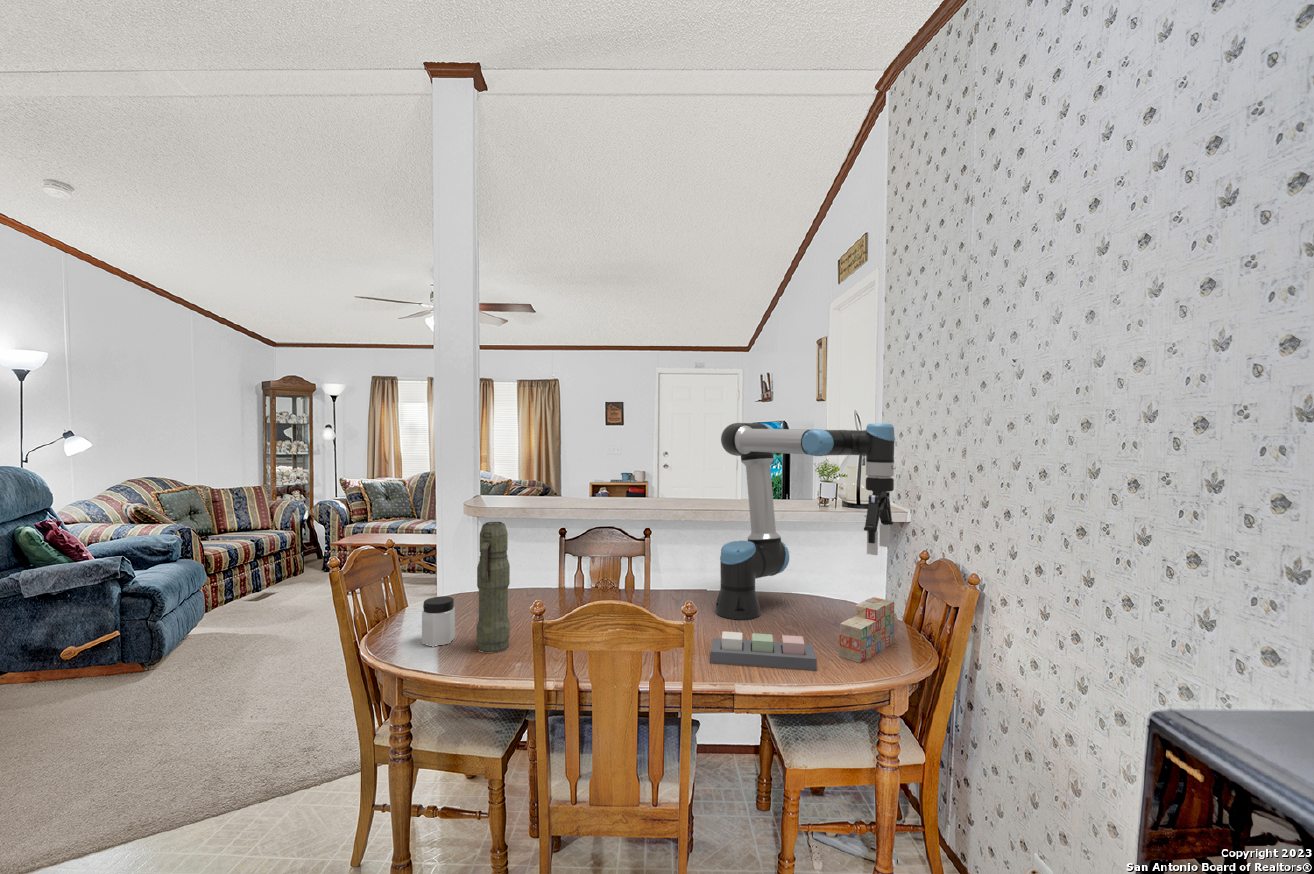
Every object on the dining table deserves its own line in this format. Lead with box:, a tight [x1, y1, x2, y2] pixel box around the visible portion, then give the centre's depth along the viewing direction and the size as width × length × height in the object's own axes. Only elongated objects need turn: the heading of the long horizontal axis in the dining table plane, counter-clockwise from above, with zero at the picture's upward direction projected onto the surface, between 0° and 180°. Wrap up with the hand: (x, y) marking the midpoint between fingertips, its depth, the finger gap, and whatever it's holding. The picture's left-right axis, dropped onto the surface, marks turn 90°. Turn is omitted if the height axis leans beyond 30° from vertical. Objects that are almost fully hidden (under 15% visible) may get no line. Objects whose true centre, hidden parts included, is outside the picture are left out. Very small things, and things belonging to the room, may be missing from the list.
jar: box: [421, 595, 456, 646], centre depth 159 cm, size 9×8×12 cm
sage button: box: [751, 632, 774, 653], centre depth 148 cm, size 5×5×4 cm
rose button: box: [781, 634, 805, 655], centre depth 147 cm, size 5×5×4 cm
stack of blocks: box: [839, 597, 895, 664], centre depth 155 cm, size 21×6×12 cm, turn 135°
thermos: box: [476, 521, 511, 653], centre depth 155 cm, size 9×12×35 cm
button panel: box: [709, 637, 818, 672], centre depth 148 cm, size 27×10×3 cm, turn 80°
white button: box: [721, 630, 743, 651], centre depth 149 cm, size 5×5×4 cm
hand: (878, 550), depth 160 cm, fingers open, 13 cm apart
